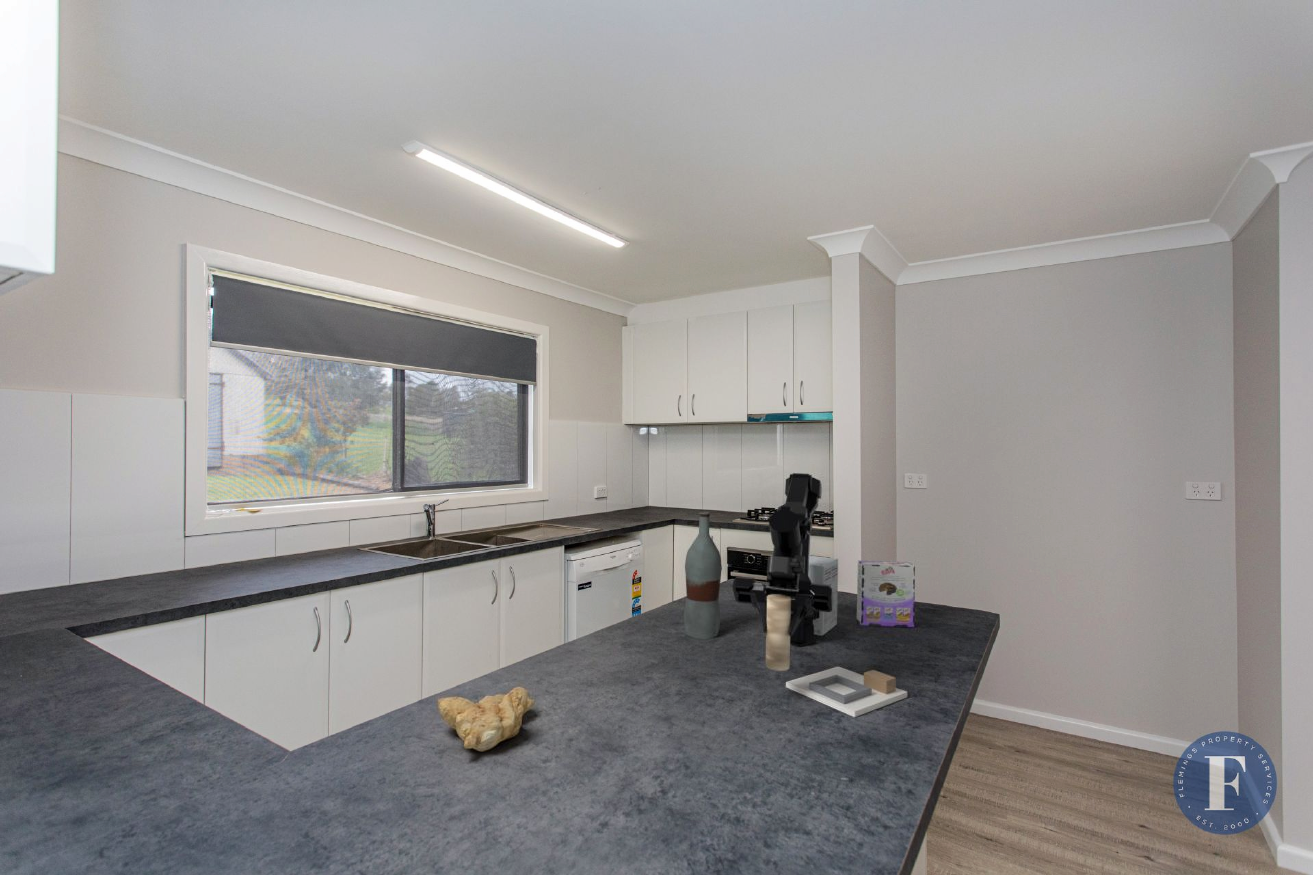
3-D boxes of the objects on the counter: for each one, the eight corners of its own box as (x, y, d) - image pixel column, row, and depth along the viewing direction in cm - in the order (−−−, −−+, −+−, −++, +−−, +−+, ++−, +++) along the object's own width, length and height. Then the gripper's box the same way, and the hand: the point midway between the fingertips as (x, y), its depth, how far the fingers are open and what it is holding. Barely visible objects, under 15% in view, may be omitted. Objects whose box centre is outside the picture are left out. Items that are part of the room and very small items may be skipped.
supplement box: (838, 624, 168) (839, 558, 168) (822, 636, 157) (824, 566, 157) (790, 615, 175) (791, 552, 175) (772, 627, 164) (773, 559, 164)
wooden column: (760, 665, 119) (762, 596, 119) (776, 660, 122) (778, 593, 122) (778, 672, 116) (780, 601, 116) (794, 667, 118) (796, 598, 118)
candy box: (908, 621, 172) (909, 561, 172) (914, 628, 166) (916, 565, 166) (855, 619, 174) (857, 559, 174) (860, 625, 168) (862, 563, 168)
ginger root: (430, 759, 91) (434, 699, 93) (436, 737, 105) (440, 685, 107) (541, 752, 95) (543, 694, 97) (532, 731, 109) (534, 681, 111)
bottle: (676, 630, 159) (679, 510, 159) (708, 626, 163) (711, 510, 163) (694, 641, 151) (697, 515, 151) (727, 637, 155) (730, 514, 155)
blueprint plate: (785, 687, 124) (786, 669, 124) (838, 671, 133) (838, 654, 133) (854, 717, 111) (855, 697, 111) (907, 697, 120) (907, 678, 120)
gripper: (735, 535, 126) (721, 604, 115) (833, 542, 120) (828, 616, 109) (742, 567, 133) (729, 635, 123) (834, 575, 127) (829, 647, 117)
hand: (777, 633), depth 118 cm, fingers closed on wooden column, 4 cm apart
